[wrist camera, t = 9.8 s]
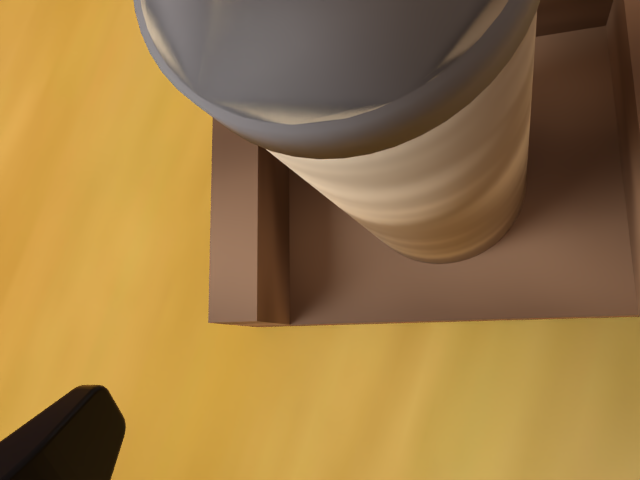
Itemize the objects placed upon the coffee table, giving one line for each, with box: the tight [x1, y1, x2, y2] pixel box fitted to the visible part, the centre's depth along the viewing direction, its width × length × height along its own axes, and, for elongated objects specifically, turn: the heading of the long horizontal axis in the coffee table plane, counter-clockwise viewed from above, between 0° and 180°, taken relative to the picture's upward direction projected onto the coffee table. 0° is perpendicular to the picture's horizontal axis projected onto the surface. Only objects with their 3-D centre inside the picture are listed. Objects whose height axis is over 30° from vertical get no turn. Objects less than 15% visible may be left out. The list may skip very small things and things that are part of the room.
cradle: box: [208, 0, 640, 327], centre depth 18 cm, size 10×13×3 cm
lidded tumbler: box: [134, 0, 540, 264], centre depth 13 cm, size 5×5×12 cm
